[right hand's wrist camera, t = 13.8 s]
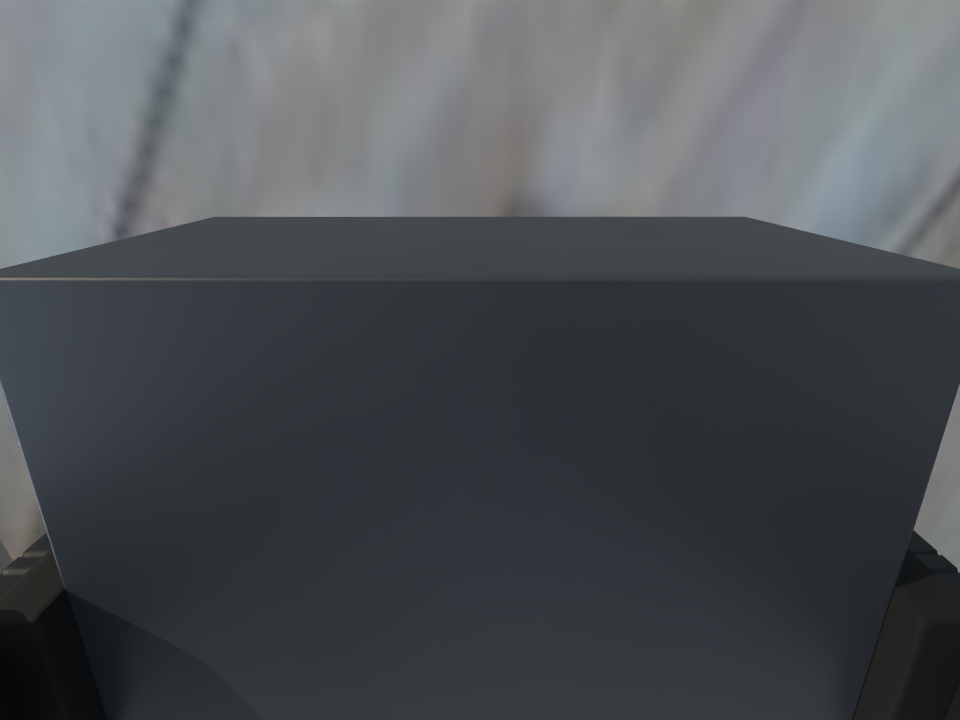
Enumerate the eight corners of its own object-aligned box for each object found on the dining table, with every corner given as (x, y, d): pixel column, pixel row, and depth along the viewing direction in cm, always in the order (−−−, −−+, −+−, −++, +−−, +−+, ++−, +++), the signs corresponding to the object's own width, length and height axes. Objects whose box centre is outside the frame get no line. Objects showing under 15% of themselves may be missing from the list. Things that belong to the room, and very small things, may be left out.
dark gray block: (746, 216, 12) (995, 276, 6) (681, 629, 15) (797, 904, 10) (212, 216, 12) (-39, 276, 6) (278, 630, 15) (162, 904, 10)
